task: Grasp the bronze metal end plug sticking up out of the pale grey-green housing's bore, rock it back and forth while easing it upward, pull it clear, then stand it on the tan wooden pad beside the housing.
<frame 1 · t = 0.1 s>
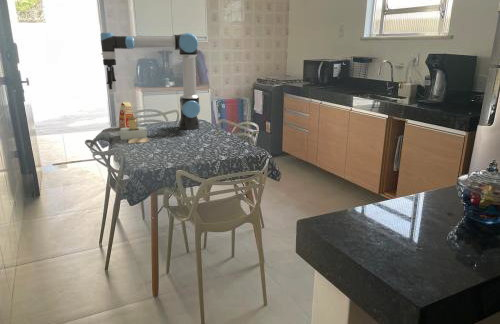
hand: (112, 93, 243), 28 cm above the table, fingers open, 13 cm apart
housing: (134, 136, 249), on the table
plug: (133, 127, 247), in the housing
milk carton: (128, 128, 271), on the table
pad: (138, 141, 238), on the table
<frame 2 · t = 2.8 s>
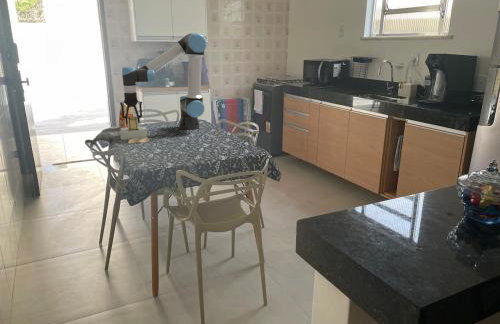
hand: (133, 128, 247), 6 cm above the table, fingers closed on plug, 5 cm apart
plug: (133, 127, 247), in the housing, touching gripper
everything else where it was.
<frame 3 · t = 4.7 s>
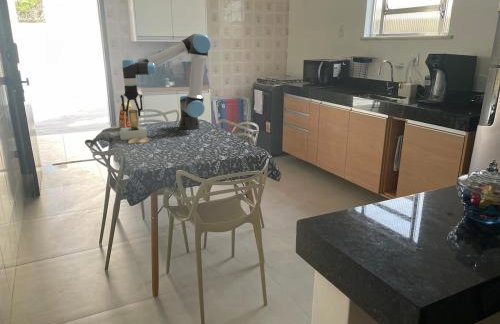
hand: (133, 121, 246), 10 cm above the table, fingers closed on plug, 5 cm apart
plug: (133, 120, 245), point 11 cm above the table, touching gripper
everything else where it was.
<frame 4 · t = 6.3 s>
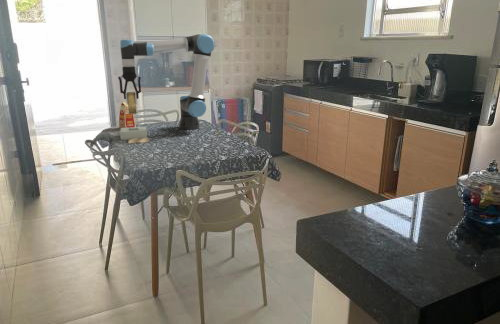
hand: (131, 104, 239), 22 cm above the table, fingers closed on plug, 5 cm apart
plug: (131, 102, 239), point 23 cm above the table, touching gripper
everything else where it was.
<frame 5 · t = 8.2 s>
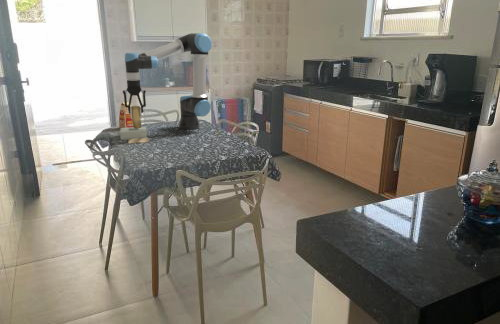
hand: (136, 118, 234), 15 cm above the table, fingers closed on plug, 5 cm apart
plug: (136, 117, 234), point 15 cm above the table, touching gripper
everything else where it was.
when the fingers open (7 cm above the table, at t = 9.8 s): plug stays where it is, resting on pad.
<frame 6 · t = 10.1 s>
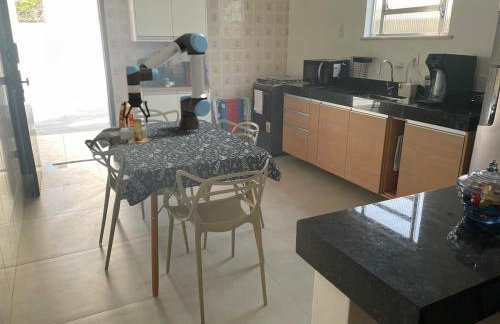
hand: (137, 128, 236), 8 cm above the table, fingers open, 9 cm apart
plug: (137, 130, 236), on the pad, point 7 cm above the table
everything else where it was.
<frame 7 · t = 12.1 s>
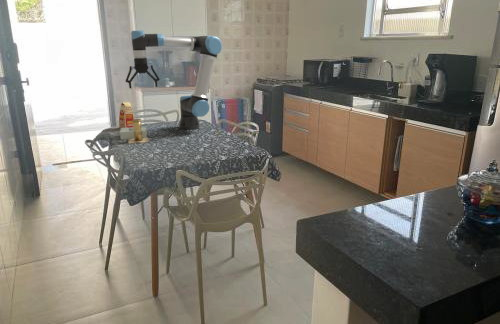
hand: (144, 92, 236), 29 cm above the table, fingers open, 13 cm apart
nothing on the table moved.
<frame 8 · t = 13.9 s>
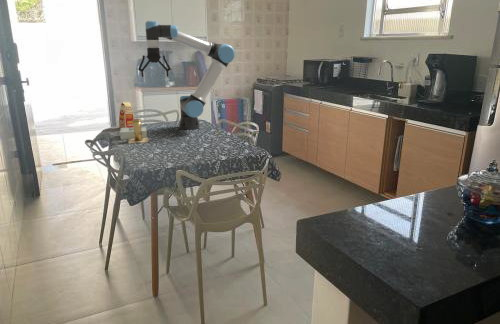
hand: (155, 81, 246), 35 cm above the table, fingers open, 13 cm apart
nothing on the table moved.
at the end: plug inside the target area on the pad (0.1 cm from its centre), point 7.1 cm above the pad's base; plug tilted 1°; the gripper is holding nothing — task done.
